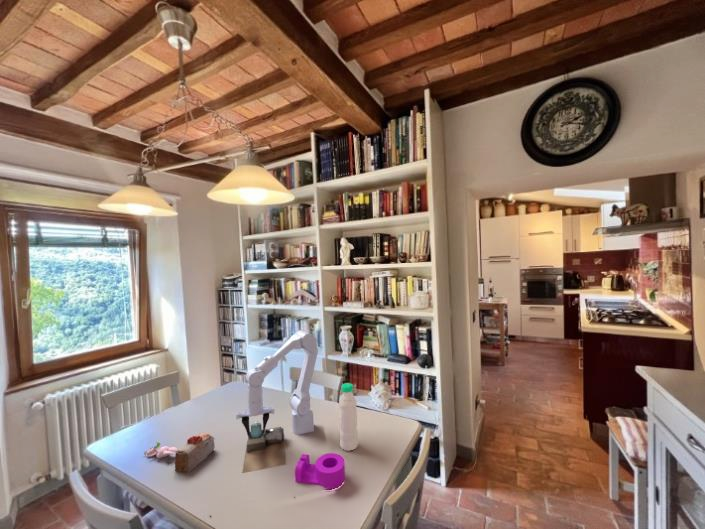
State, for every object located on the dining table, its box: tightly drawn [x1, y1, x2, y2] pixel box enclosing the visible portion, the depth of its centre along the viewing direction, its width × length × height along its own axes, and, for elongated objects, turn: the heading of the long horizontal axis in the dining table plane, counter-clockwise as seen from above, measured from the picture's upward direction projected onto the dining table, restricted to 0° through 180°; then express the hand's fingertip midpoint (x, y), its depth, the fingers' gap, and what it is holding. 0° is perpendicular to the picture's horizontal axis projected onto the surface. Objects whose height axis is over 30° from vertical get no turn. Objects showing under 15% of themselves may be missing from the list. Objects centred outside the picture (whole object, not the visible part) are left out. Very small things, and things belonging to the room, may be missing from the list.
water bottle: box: [338, 382, 359, 451], centre depth 119 cm, size 7×7×25 cm
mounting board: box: [242, 437, 287, 474], centre depth 115 cm, size 15×20×1 cm
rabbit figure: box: [143, 441, 179, 459], centre depth 116 cm, size 6×6×15 cm
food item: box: [174, 432, 216, 473], centre depth 112 cm, size 14×8×10 cm, turn 169°
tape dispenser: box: [294, 452, 346, 490], centre depth 101 cm, size 16×10×6 cm, turn 78°
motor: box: [246, 426, 285, 452], centre depth 120 cm, size 14×7×6 cm, turn 105°
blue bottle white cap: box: [250, 421, 262, 439], centre depth 119 cm, size 4×4×6 cm
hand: (256, 433), depth 119 cm, fingers open, 5 cm apart
